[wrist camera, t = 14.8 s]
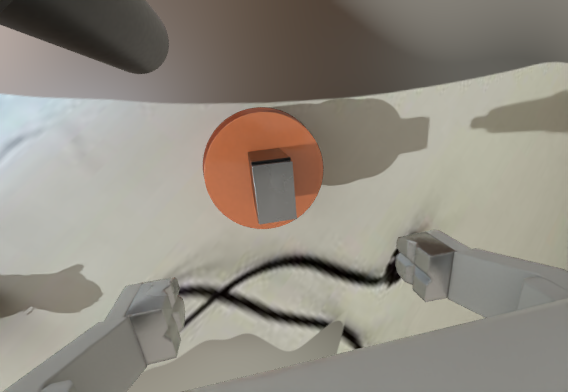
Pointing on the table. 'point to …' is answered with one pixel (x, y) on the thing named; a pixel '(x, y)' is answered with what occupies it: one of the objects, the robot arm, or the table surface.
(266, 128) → the orange short cylinder
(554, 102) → the table surface
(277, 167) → the black block
